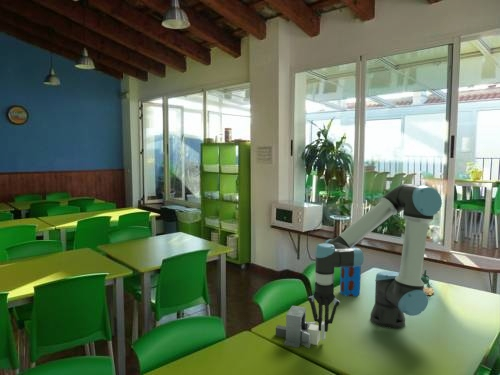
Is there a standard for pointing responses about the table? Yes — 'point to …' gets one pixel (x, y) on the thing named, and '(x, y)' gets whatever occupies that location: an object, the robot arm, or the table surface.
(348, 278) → the thermos
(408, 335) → the table surface
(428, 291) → the frog figurine
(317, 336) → the plug
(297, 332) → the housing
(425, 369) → the table surface
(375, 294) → the robot arm
